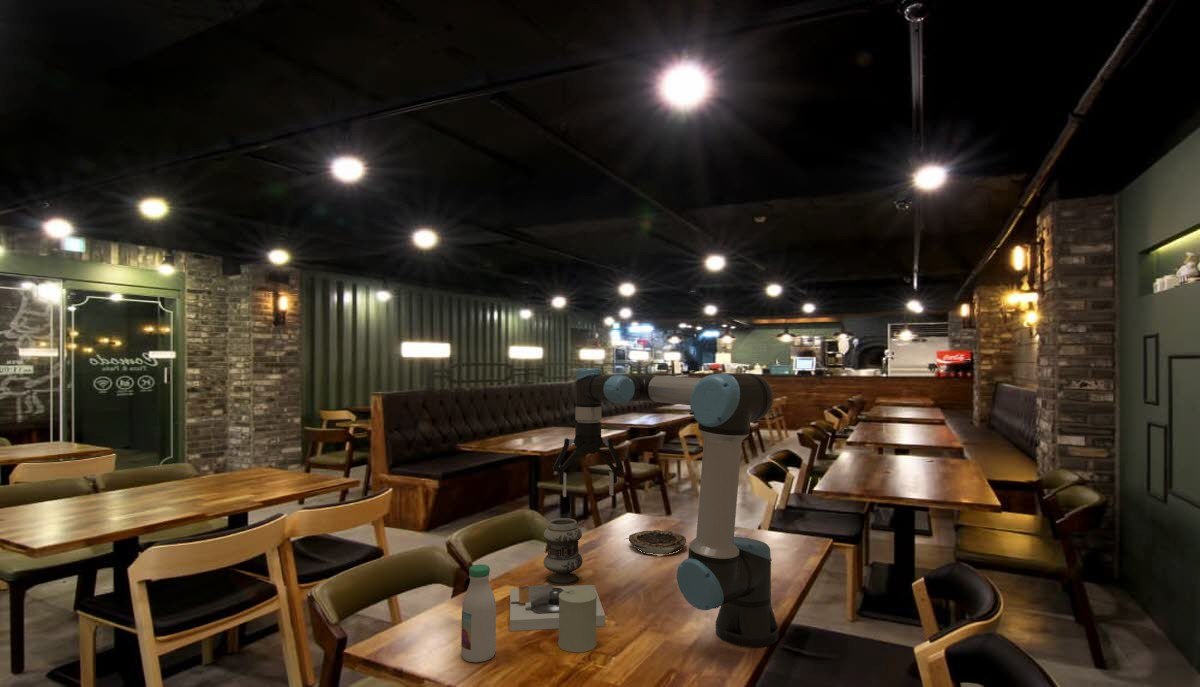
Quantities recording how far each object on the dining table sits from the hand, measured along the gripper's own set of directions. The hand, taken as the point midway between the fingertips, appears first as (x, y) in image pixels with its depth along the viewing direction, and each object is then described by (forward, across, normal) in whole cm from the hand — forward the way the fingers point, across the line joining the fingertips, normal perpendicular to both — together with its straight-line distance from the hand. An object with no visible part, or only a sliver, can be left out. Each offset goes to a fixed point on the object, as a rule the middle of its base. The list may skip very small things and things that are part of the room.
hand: (588, 495), depth 180 cm
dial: (+27, +12, +10) cm, 31 cm away
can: (+29, +6, +30) cm, 42 cm away
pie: (+29, -30, -43) cm, 60 cm away
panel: (+29, +10, +10) cm, 32 cm away
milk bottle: (+29, +29, +33) cm, 52 cm away
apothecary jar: (+29, +6, -14) cm, 33 cm away
